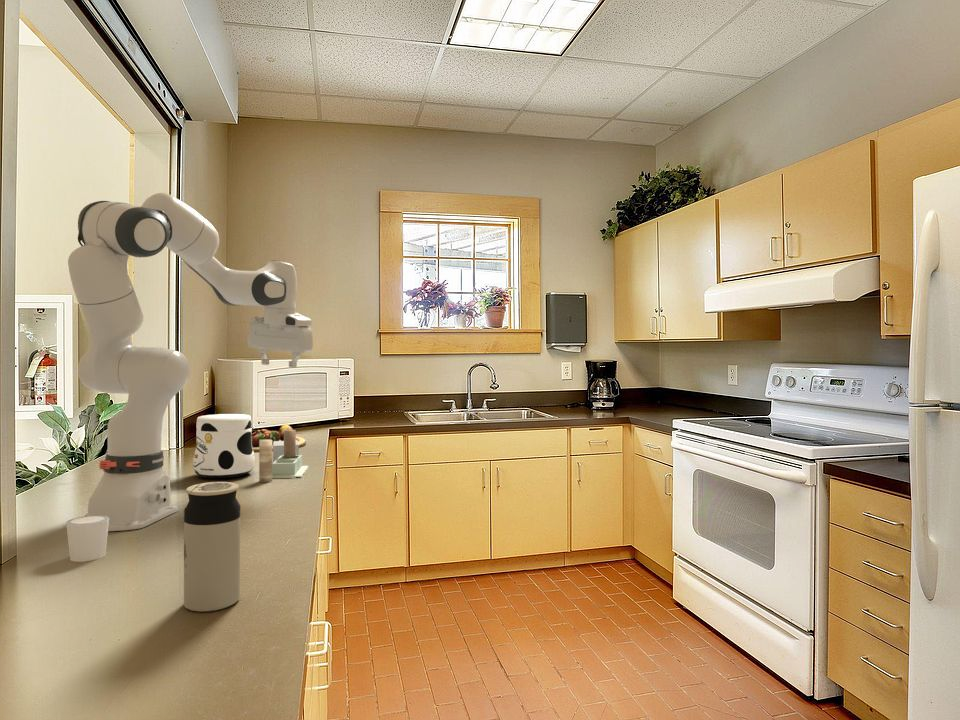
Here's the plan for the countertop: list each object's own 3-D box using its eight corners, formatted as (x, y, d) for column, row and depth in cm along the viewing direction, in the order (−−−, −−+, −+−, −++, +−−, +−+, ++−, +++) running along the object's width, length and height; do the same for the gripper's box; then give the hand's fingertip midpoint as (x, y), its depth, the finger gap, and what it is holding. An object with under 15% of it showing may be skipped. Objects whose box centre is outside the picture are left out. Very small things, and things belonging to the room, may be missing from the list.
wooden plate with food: (208, 445, 248) (208, 424, 248) (284, 437, 270) (284, 418, 269) (239, 458, 224) (239, 435, 224) (320, 448, 246) (320, 427, 246)
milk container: (179, 479, 184) (179, 418, 184) (221, 468, 201) (221, 412, 200) (227, 483, 179) (227, 421, 178) (266, 472, 195) (266, 415, 195)
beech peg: (270, 482, 181) (271, 441, 181) (257, 482, 180) (258, 441, 180) (273, 479, 184) (273, 439, 184) (260, 480, 184) (260, 439, 184)
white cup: (101, 548, 121) (101, 512, 121) (115, 556, 117) (115, 518, 117) (60, 557, 116) (60, 519, 116) (73, 565, 112) (73, 526, 112)
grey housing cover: (298, 466, 206) (298, 444, 206) (273, 467, 203) (273, 445, 203) (297, 460, 215) (298, 440, 215) (273, 461, 213) (273, 441, 213)
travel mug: (247, 592, 101) (247, 481, 100) (228, 613, 93) (229, 492, 92) (197, 592, 100) (197, 481, 100) (174, 613, 92) (174, 492, 92)
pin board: (301, 477, 188) (301, 436, 187) (263, 478, 186) (263, 436, 186) (308, 467, 204) (309, 429, 203) (273, 467, 202) (274, 429, 202)
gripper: (242, 316, 180) (241, 363, 181) (303, 320, 173) (301, 370, 175) (257, 315, 186) (256, 362, 187) (316, 320, 179) (314, 368, 180)
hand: (278, 366), depth 181 cm, fingers open, 8 cm apart
